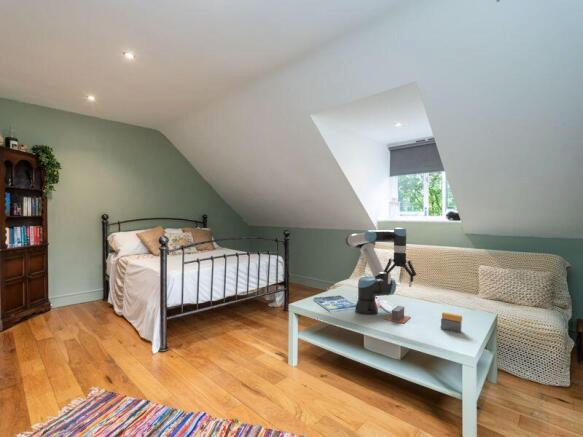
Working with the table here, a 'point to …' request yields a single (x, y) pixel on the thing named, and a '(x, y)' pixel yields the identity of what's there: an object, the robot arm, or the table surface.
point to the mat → (399, 320)
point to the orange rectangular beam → (452, 317)
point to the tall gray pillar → (397, 313)
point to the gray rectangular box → (451, 325)
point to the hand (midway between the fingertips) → (399, 285)
